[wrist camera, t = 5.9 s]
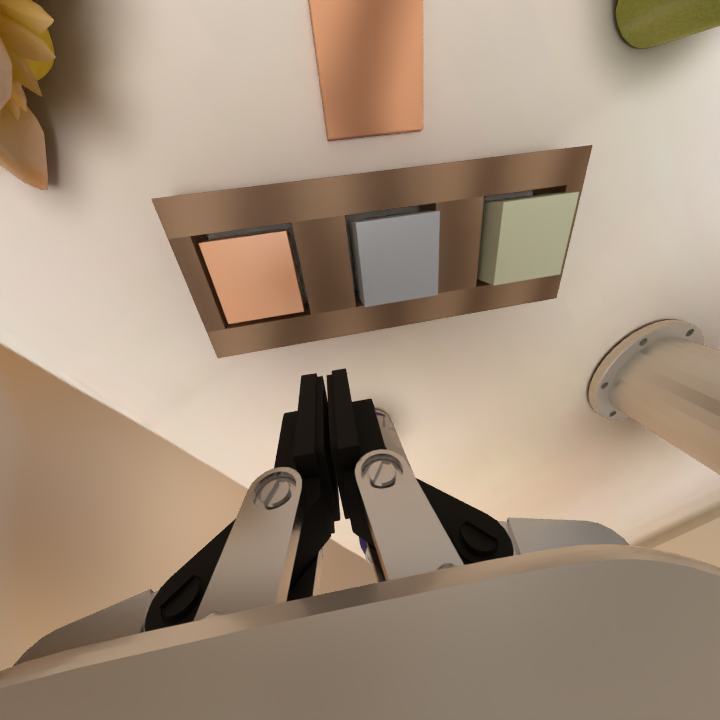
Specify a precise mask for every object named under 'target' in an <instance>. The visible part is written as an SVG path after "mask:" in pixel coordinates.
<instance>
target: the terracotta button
mask: <svg viewBox="0 0 720 720" xmlns="http://www.w3.org/2000/svg"><path fill="white" fill-rule="evenodd" d="M199 246H200V249H201V251H202V254H203V257H204V259H205V262H206V265H207V268H208V270H209V273H210V276H211V278H212V281H213V284H214V286H215V289H216V292H217V295H218V297H219V300H220V303H221V305H222V308H223V311H224V313H225V316H226V319H227V322H228V324H232V323H238V322H244V321H250V320H256V319H262V318H268V317H274V316H280V315H286V314H292V313H298V312H304V297H303V292H302V288H301V283H300V278H299V274H298V269H297V265H296V260H295V255H294V251H293V246H292V242H291V237H290V232H289V228H285V229H278V230H270V231H263V232H256V233H249V234H241V235H234V236H227V237H220V238H213V239H210V240H207V241H204V242H201V243H199Z"/></svg>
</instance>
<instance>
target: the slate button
mask: <svg viewBox="0 0 720 720" xmlns="http://www.w3.org/2000/svg"><path fill="white" fill-rule="evenodd" d="M439 228H440V211H416V212H408V213H401V214H394V215H387V216H379V217H372V218H365V219H358V220H350V221H349V229H350V237H351V245H352V253H353V262H354V270H355V278H356V287H357V295H358V297H359V298H360V300H361V301H362V303H363V305H364V306H365V307H370V306H376V305H382V304H387V303H393V302H399V301H405V300H411V299H417V298H423V297H429V296H435V295H438V272H439Z"/></svg>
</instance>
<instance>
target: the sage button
mask: <svg viewBox="0 0 720 720" xmlns="http://www.w3.org/2000/svg"><path fill="white" fill-rule="evenodd" d="M578 195H579V192H566V193H549V194H539V195H532V196H524V197H517V198H510V199H503V200H495V201H488V202H484V203H483V214H482V225H481V236H480V248H479V259H478V270H477V279H479V280H481V281H484V282H486V283H489V284H491V285H500V284H506V283H512V282H518V281H523V280H529V279H535V278H541V277H547V276H553V275H559V274H560V273H561V269H562V264H563V260H564V256H565V251H566V247H567V243H568V238H569V234H570V230H571V226H572V221H573V217H574V213H575V208H576V204H577V200H578Z"/></svg>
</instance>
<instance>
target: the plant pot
mask: <svg viewBox="0 0 720 720" xmlns="http://www.w3.org/2000/svg"><path fill="white" fill-rule="evenodd" d="M616 19H617V24H618V27H619V30H620V32H621V34H622V36H623V38H624V39H625V40H626V41H627V42H628V43H629V44H630V45H632V46H633V47H636V48H648V47H653V46H657V45H661V44H664V43H667V42H670V41H673V40H676V39H679V38H682V37H685V36H688V35H692V34H695V33H698V32H701V31H704V30H707V29H710V28H714V27H717V26H720V0H618V4H617V7H616Z"/></svg>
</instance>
